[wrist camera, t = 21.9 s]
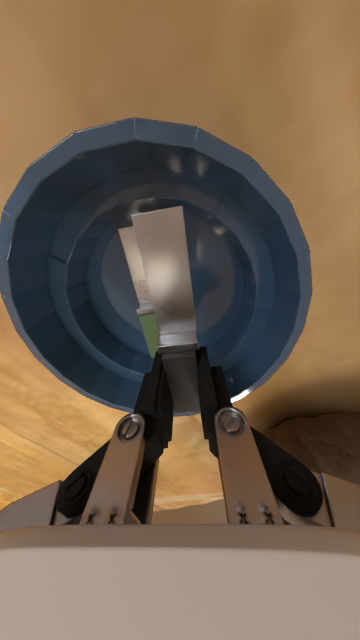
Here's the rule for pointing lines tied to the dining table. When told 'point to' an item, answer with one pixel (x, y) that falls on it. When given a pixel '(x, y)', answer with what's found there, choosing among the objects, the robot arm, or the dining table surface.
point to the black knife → (171, 299)
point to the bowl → (112, 268)
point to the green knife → (140, 288)
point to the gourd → (323, 443)
